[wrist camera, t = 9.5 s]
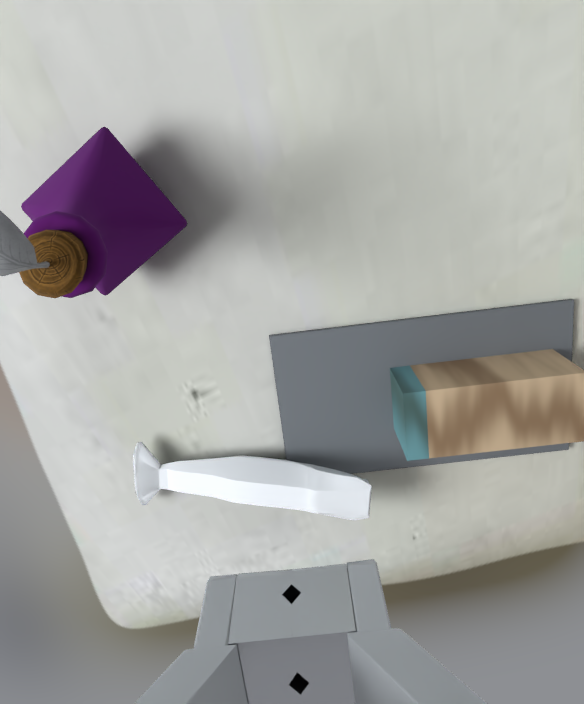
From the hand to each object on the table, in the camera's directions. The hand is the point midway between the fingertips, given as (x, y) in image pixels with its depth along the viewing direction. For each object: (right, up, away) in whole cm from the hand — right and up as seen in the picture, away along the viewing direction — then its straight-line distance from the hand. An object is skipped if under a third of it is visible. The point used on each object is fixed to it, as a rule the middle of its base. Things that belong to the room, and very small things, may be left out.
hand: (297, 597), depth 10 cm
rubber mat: (+10, +1, +32) cm, 34 cm away
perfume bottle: (-12, +14, +28) cm, 34 cm away
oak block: (+8, 0, +30) cm, 31 cm away
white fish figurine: (-3, -5, +34) cm, 35 cm away
